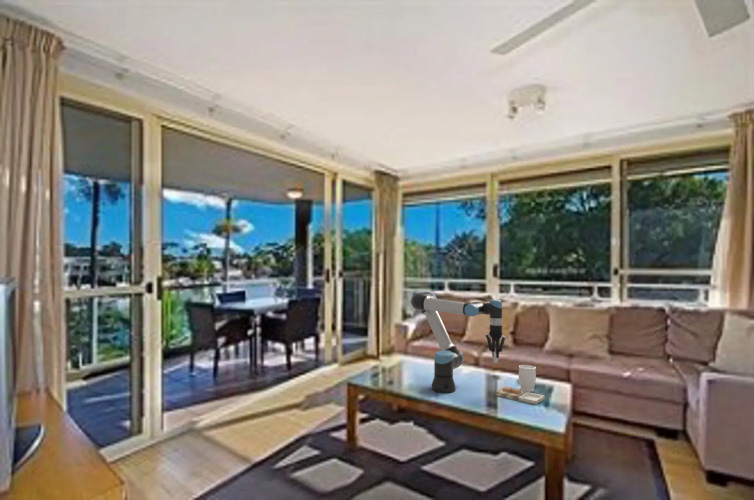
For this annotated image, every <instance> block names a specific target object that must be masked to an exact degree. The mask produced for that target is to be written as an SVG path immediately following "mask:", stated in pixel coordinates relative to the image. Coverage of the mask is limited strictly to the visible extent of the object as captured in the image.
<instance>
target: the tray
mask: <svg viewBox="0 0 754 500" xmlns="http://www.w3.org/2000/svg"><path fill="white" fill-rule="evenodd" d="M545 399H546V396H545V395H544V394H538V393H535V392H526V393H525V394H523V395H521V396H519V397H518V400H517V402H520V403H525V404H530V405H536V406H537V405H539V404H540V403H541V402H543V401H544V400H545Z"/></svg>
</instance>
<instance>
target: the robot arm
mask: <svg viewBox="0 0 754 500" xmlns="http://www.w3.org/2000/svg"><path fill="white" fill-rule="evenodd" d="M410 303H411V307H412V308H413V309H415V310H416V311H420V312H421V314H422V315H423V316H425V317H426V320H427V321H428V324H429V326H430V329H431V331H432V334H433V335H434V337H435V339H436V343H437V344H438V346H439V349H440V350H438V351H436V352H435V353H434V359H433V360H434V364H433V365H434V367H433V368H434V369H433V370H434V373H433V374H434V377H433V380H432V383H431V387H430V389H431V390H432V391H433V392H438V393H443V394H448V393H454V392H455V391H456V388H457V387H456V384H455V380H454V370H455V369H458V368H460V367H461V366H462V364H463V363H464V354H463V352H462V350H460V349H458V348H457V346H456V344H454V343H453V341H452V340H451V338H450V336H449V333H448V332H447V331H448V330H447V329H446V327H445V325H444V322H443V321H442V318H441V315H440V314H439V312H444V313H450V314H458V315H464V316H468V317H476V316H479V315H489V333H488V334H485V338H486V340H487V344H488V349H489V351H490V352H492V353H491V354H492V355H491V356H492V358H493V364H498V362H499V361H498V359H499V357H500V353H502V352H503V349H504V344H505V341H506V339H507V337H506V336H505V335H503V302H502V300H500V299H490V300H489V302H482V301H472V302H463V301H458V300H457V301H456V300H447V299H440V298H437V296H436V294H434V293H433V292H431V291H429V292H428V291H424V292H418V293H414V294H413V296H412V297H411V300H410Z"/></svg>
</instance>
